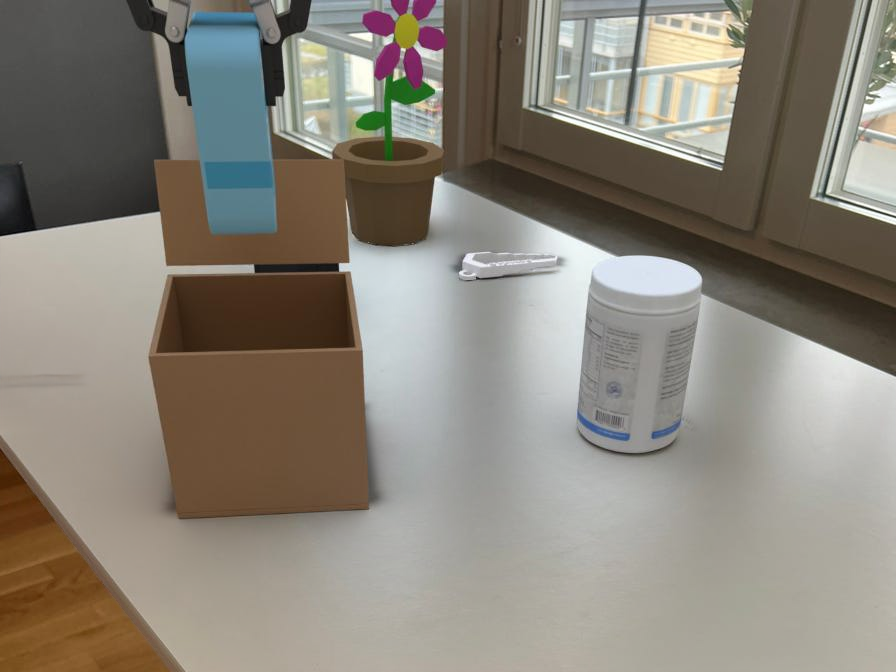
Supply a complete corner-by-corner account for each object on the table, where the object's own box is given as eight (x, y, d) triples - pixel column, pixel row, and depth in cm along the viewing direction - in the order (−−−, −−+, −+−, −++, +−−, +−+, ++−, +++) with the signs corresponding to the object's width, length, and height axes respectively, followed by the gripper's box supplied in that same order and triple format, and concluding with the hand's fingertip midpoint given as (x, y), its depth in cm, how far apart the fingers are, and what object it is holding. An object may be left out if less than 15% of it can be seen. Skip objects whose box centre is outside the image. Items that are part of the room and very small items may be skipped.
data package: (277, 240, 69) (258, 40, 61) (210, 241, 68) (182, 39, 60) (275, 189, 78) (258, 9, 70) (216, 190, 77) (192, 8, 69)
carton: (178, 518, 78) (147, 356, 69) (191, 423, 90) (167, 274, 81) (369, 509, 80) (362, 349, 72) (357, 416, 92) (350, 271, 84)
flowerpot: (379, 259, 125) (371, -26, 106) (315, 228, 133) (297, -42, 114) (465, 237, 132) (472, -32, 113) (400, 210, 140) (396, -46, 121)
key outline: (545, 258, 127) (546, 245, 126) (560, 272, 124) (561, 258, 123) (449, 267, 124) (449, 253, 122) (462, 281, 120) (462, 267, 119)
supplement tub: (657, 405, 96) (683, 251, 87) (693, 453, 89) (725, 291, 80) (561, 411, 95) (577, 255, 85) (590, 461, 88) (610, 296, 78)
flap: (153, 159, 78) (154, 160, 79) (166, 265, 81) (167, 266, 81) (343, 159, 80) (343, 160, 81) (349, 262, 83) (349, 263, 83)
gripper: (318, -219, 61) (334, 92, 72) (75, -231, 59) (130, 91, 70) (323, -221, 55) (339, 117, 66) (54, -235, 53) (117, 116, 64)
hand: (232, 102), depth 68 cm, fingers closed on data package, 4 cm apart
